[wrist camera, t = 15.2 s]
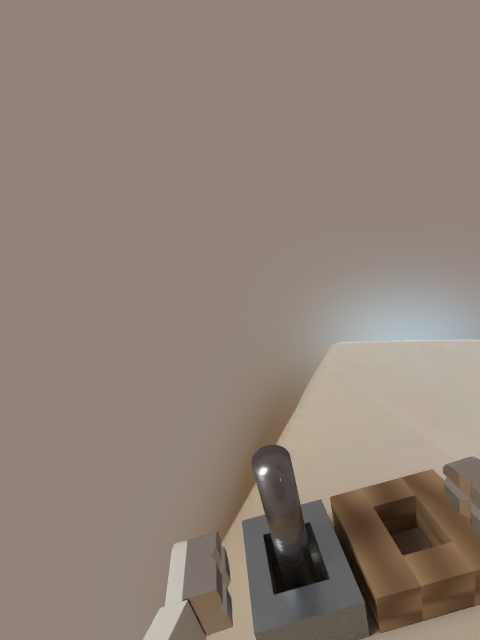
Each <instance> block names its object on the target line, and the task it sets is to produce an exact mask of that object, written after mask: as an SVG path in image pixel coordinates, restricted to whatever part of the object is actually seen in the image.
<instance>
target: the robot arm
mask: <svg viewBox="0 0 480 640" xmlns="http://www.w3.org/2000/svg"><path fill="white" fill-rule="evenodd" d="M443 473H444V474H445V475H446V476H447V478H446V480H445V481H444V491H445V493H446V495H447V497H448V499H449V501H450V502H451V504H452V505H453V506H454V508H455V509H456V510H457V511H458V512H459V513H460V514H462V515H464V516H466V517H468V518H470V521H471V525H472V528H473V529H474V530H475V531H476V532H477V533H478V534H479V535H480V455H477V456H473V457H468V458H465V459H462V460H459V461H456V462H452V463H449V464H446V465H445V466H444V467H443ZM229 584H230V569H229V563H228V557H227V553H226V550H225V548H224V547H223V546H221V538H220V536H219V533H218V532H216V533H212V534H208V535H205V536H201V537H198V538H194V539H190V540H186V541H183V542H180V543H176V544H174V547H173V549H172V555H171V563H170V571H169V579H168V587H167V594H166V603H165V606H164V607H161V608H160V610H159V612H158V613H157V615H156V617H155V619H154V621H153V622H152V624H151V626H150V628H149V630H148V632H147V633H146V635H145V637H144V639H143V640H206V636H207V635H210V634H213V633H216V632H219V631H222V630H225V629H228V628H231V627H233V620H232V601H231V597H230V594H229V592H228V589H227V588H228V586H229Z"/></svg>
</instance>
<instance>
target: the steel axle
mask: <svg viewBox="0 0 480 640" xmlns="http://www.w3.org/2000/svg"><path fill="white" fill-rule="evenodd" d="M252 467H253V471H254V474H255V478H256V482H257V486H258V489H259V493H260V497H261V501H262V504H263V508H264V512H265V516H266V519H267V523H268V527H269V530H270V534H271V538H272V542H273V545H274V549H275V553H276V557H277V560H278V564H279V568H280V572H281V575H282V579H283V583H284V587H285V590H286V591H289V590H293V589H297V588H300V587H304V586H307V585H311V584H314V583H317V580H316V575H315V570H314V566H313V561H312V556H311V552H310V547H309V542H308V538H307V533H306V528H305V523H304V519H303V514H302V509H301V505H300V500H299V495H298V491H297V486H296V481H295V477H294V472H293V467H292V462H291V458H290V454H289V452H288V451H287V450H286V449H285V448H283V447H281V446H278V445H268V446H265V447H263V448H261V449H259V450H258V451H257V452H256V453H255V454H254V456H253V458H252Z"/></svg>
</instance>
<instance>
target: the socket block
mask: <svg viewBox="0 0 480 640" xmlns="http://www.w3.org/2000/svg"><path fill="white" fill-rule="evenodd" d="M301 509H302V514H303V519H304V523H305V528H306V533H307V538H308V542H309V547H310V552H311V553H314V552H316V553H317V556H318V559H319V562H320V565H321V568H322V571H323V574H324V577H325V581H321V582H318V583H314V584H311V585H307V586H304V587H300V588H297V589H293V590H289V591H286V592H282V593H279V594H277V593H276V587H275V582H274V576H273V571H272V566H271V564H274V563H278V560H277V557H276V553H275V549H274V545H273V542H272V538H271V534H270V530H269V527H268V523H267V519H266V516H265V515H262V516H258V517H255V518H251V519H247V520H243V521H242V525H243V534H244V543H245V552H246V562H247V571H248V580H249V589H250V598H251V607H252V617H253V626H254V634H255V637H256V640H358V639H361V638H365V637H368V636H369V629H368V622H367V614H366V607H365V601H364V599H363V597H362V594H361V592H360V590H359V587H358V585H357V583H356V580H355V578H354V576H353V573H352V571H351V569H350V566H349V564H348V561H347V559H346V557H345V554H344V552H343V550H342V547H341V545H340V543H339V540H338V538H337V536H336V533H335V531H334V529H333V526H332V524H331V521H330V519H329V517H328V514H327V512H326V510H325V507H324V505H323V503H322V500H317V501H313V502H310V503H306V504H302V505H301Z"/></svg>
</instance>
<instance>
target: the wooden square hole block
mask: <svg viewBox="0 0 480 640" xmlns="http://www.w3.org/2000/svg"><path fill="white" fill-rule="evenodd" d="M330 501H331V507H332V513H333V519H334V525H335V528H336V530H337V533H338V535H339V537H340V539H341V542H342V544H343V546H344V549H345V551H346V553H347V556H348V558H349V560H350V563H351V565H352V567H353V569H354V572H355V574H356V576H357V579H358V581H359V583H360V586H361V588H362V590H363V593H364V595H365V597H366V600H367V602H368V604H369V606H370V609H371V611H372V613H373V616H374V618H375V620H376V623H377V625H378V627H379V630H380V632H381V633H382V632H386V631H389V630H393V629H396V628H399V627H403V626H406V625H410V624H413V623H417V622H420V621H424V620H427V619H431V618H434V617H437V616H441V615H444V614H448V613H451V612H455V611H458V610H462V609H465V608H468V607H472V606H475V605H479V604H480V535H479V534H478V533H477V532H476V531H475V530H474V529H473V528H472V525H471V521H470V518H468V517H466V516H464V515H462V514H460V513H459V512H458V511H457V510H456V509H455V508H454V506H453V505H452V504H451V502H450V501H449V499H448V497H447V495H446V493H445V491H444V480H443V479H442V478H441V477H440V476H439V475H438V474H437V473H436V472H435V471H434V470H433V469H431V470H428V471H424V472H420V473H417V474H413V475H409V476H406V477H402V478H398V479H395V480H391V481H387V482H384V483H380V484H376V485H372V486H369V487H365V488H361V489H358V490H354V491H350V492H347V493H343V494H339V495H336V496H332V497H330ZM415 526H417V527H418V528H419V530H420V531H421V533H422V534H423V535H424V537H425V538H426V540H427V541H428V542H429V544H430V545H431V547H432V548H428V549H425V550H421V551H418V552H414V553H410V554H407V555H402V554H401V552H400V550H399V549H398V547H397V545H396V544H395V542H394V540H393V539H392V537H391V535H390V533H394V532H397V531H401V530H405V529H408V528H412V527H415Z"/></svg>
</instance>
